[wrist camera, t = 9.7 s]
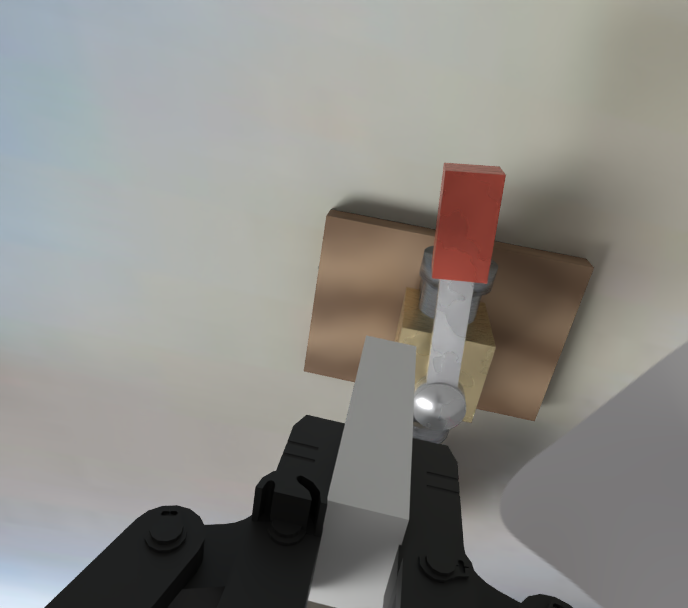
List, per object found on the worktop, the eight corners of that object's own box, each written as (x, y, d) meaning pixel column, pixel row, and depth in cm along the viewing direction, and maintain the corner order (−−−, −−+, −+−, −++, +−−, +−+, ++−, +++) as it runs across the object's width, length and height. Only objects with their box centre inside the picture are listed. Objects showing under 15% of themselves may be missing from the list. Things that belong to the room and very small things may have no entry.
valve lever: (460, 417, 33) (463, 442, 31) (410, 411, 33) (408, 434, 31) (503, 167, 26) (510, 175, 24) (440, 162, 27) (441, 170, 25)
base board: (530, 407, 46) (534, 421, 44) (308, 359, 47) (303, 371, 45) (586, 258, 40) (594, 267, 38) (330, 209, 41) (326, 215, 39)
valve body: (452, 403, 44) (458, 488, 35) (382, 388, 45) (371, 468, 36) (498, 249, 38) (519, 303, 29) (417, 233, 39) (414, 281, 30)
